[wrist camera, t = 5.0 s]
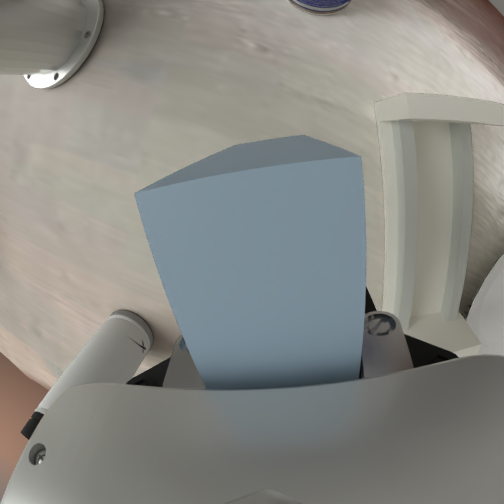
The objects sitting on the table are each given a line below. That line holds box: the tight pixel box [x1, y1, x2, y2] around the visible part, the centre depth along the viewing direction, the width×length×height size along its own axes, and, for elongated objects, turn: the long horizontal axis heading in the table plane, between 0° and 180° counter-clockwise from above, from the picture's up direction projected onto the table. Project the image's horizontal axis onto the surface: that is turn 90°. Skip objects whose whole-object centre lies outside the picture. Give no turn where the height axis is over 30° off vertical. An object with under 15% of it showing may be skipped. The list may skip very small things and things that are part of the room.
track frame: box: [374, 93, 504, 358], centre depth 19 cm, size 22×9×7 cm, turn 10°
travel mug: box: [21, 310, 153, 440], centre depth 23 cm, size 6×7×20 cm
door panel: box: [134, 135, 366, 389], centre depth 10 cm, size 12×3×9 cm, turn 10°
